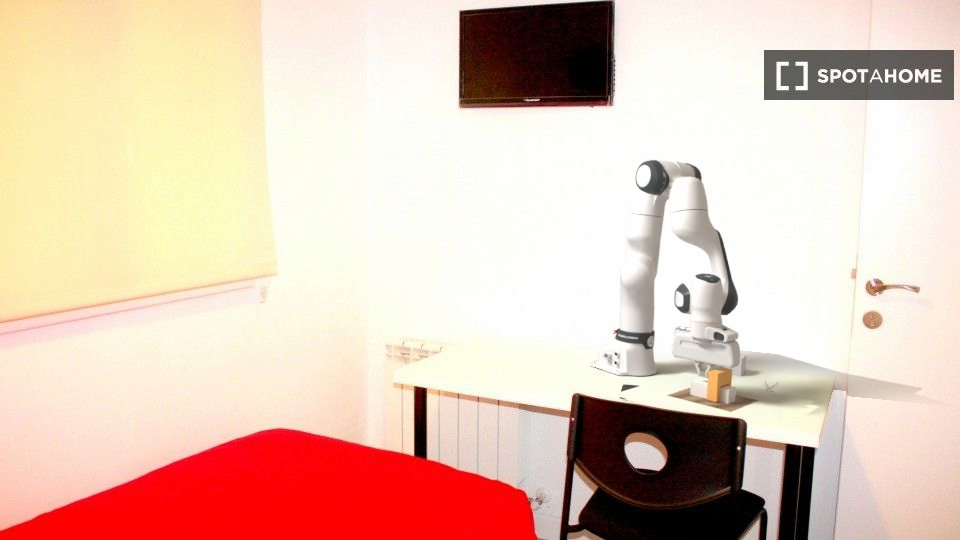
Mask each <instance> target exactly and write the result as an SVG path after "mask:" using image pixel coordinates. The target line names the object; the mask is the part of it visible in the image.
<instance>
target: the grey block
mask: <svg viewBox="0 0 960 540" xmlns="http://www.w3.org/2000/svg"><path fill="white" fill-rule="evenodd" d="M746 363H747V355H746V354H744V355H743V354H740V363H739V365H738V366H737V367H734V368H729V367H724V366H722V367H724V368H728V369H732V376H734V377H741V376H743V375H744V374H745V373H746V365H747V364H746Z"/></svg>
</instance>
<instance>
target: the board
mask: <svg viewBox="0 0 960 540" xmlns="http://www.w3.org/2000/svg"><path fill="white" fill-rule="evenodd" d="M690 389H691V387H688V388H685V389H682V390H679V391H676V392H673V393H670V394H669V393H668V394H667V396H668V397H671V398H675V399H676V398H677V399H679V400H683V401H687V402H691V403H695V404H698V405H699V404H700V405H703V406H706V407H710V408H714V409H719V410H723V411H726V412H729V413H731V412H734V411H736V410H739V409H742V408H744V407H746V406H749V405H751V404H753V403H757V402H759V400H758V399H754V398H750V397H746V396H742V395H738V394H736V397H735V402H732V403H729V404H726V403H722V402H713V401H709V400H707V399H706V398H702V397H698V396H694V395H690Z"/></svg>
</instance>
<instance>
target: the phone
mask: <svg viewBox="0 0 960 540" xmlns="http://www.w3.org/2000/svg"><path fill="white" fill-rule="evenodd" d="M638 387H639V385H636V384H627V383H626V384H623V385H622V386H621V389H620V391H621V393H622V392H624V391H628V390H632V389H634V388H638ZM619 398H620V399H621V400H626V398H624V397H622V396H619Z"/></svg>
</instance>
